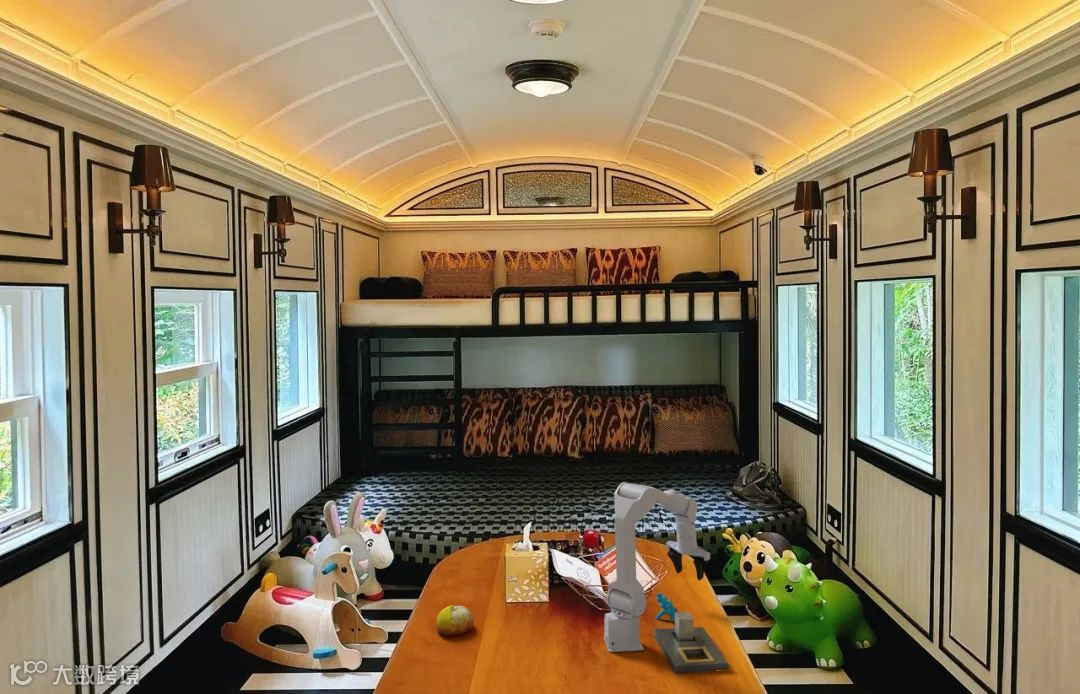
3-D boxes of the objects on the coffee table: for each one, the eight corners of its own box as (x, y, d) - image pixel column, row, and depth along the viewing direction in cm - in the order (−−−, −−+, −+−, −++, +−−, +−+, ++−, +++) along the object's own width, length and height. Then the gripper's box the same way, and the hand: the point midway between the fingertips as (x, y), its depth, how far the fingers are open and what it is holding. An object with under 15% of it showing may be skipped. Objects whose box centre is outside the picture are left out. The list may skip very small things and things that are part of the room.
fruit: (466, 640, 195) (458, 612, 195) (434, 645, 198) (426, 618, 198) (482, 621, 206) (474, 595, 206) (451, 626, 209) (443, 601, 209)
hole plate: (674, 673, 178) (674, 665, 177) (654, 636, 197) (654, 628, 197) (728, 670, 179) (728, 662, 179) (702, 633, 199) (702, 626, 199)
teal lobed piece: (681, 624, 201) (657, 596, 204) (666, 637, 202) (642, 609, 205) (685, 613, 212) (662, 586, 214) (670, 625, 213) (648, 599, 215)
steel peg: (678, 647, 191) (679, 619, 190) (674, 640, 195) (674, 612, 194) (693, 646, 191) (693, 618, 191) (688, 639, 195) (688, 612, 195)
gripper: (714, 534, 209) (717, 576, 212) (673, 523, 220) (677, 563, 222) (701, 544, 205) (704, 586, 207) (660, 532, 215) (664, 572, 217)
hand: (689, 575), depth 214 cm, fingers open, 7 cm apart
